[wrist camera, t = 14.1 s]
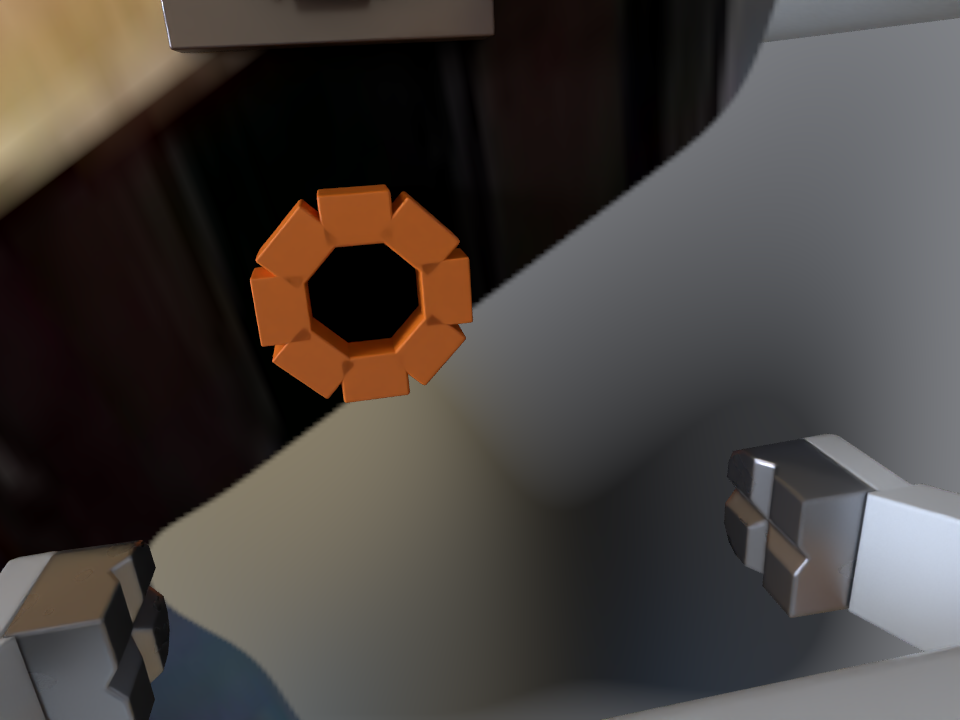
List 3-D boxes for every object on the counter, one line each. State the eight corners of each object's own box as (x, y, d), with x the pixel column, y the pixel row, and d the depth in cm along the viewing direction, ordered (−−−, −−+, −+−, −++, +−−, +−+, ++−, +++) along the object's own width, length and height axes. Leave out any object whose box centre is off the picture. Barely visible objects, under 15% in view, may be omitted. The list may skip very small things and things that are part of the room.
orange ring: (455, 178, 23) (465, 183, 22) (467, 370, 26) (476, 386, 24) (242, 195, 22) (235, 202, 21) (276, 394, 24) (273, 413, 23)
